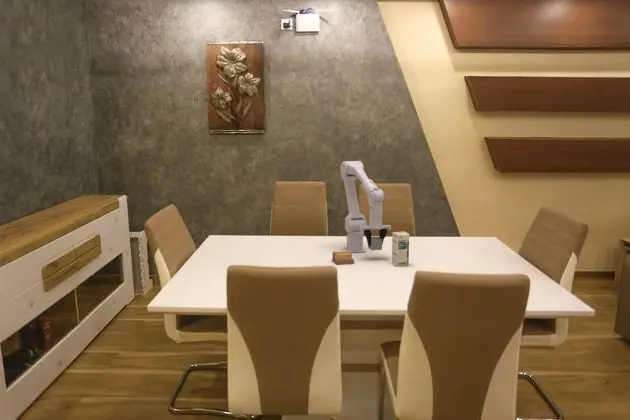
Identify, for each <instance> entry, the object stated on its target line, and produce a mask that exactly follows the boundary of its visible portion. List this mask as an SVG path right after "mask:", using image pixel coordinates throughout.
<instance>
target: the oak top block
mask: <svg viewBox="0 0 630 420" xmlns="http://www.w3.org/2000/svg"><path fill="white" fill-rule="evenodd" d="M332 256H333V257H334V258H335V259H336V260H351V259H352V258H353V254H352V253H350V252H349V251H348V250H346V249H344V250H332Z"/></svg>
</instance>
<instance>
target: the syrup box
mask: <svg viewBox="0 0 630 420" xmlns="http://www.w3.org/2000/svg"><path fill="white" fill-rule="evenodd" d="M391 235H392V241H391V243H392V244H391V264H393V265H394V266H395V267H403V266H404V267H405V266H409V259H410V258H409V257H410V256H409V254H410V233H409V232H406V231H394V232H392V234H391Z"/></svg>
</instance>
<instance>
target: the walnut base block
mask: <svg viewBox="0 0 630 420" xmlns="http://www.w3.org/2000/svg"><path fill="white" fill-rule="evenodd" d="M331 258H332V259H331V260H332V262H333V263H334V264H335V265H337V266H343V265H354V264H355V259H354V258H353V257H352V259H351V260H336V259H335V258H334V257H333V256H332V257H331Z"/></svg>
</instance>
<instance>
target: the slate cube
mask: <svg viewBox="0 0 630 420" xmlns="http://www.w3.org/2000/svg"><path fill="white" fill-rule="evenodd" d="M367 247H368V249H369V250H371V251H382V250H383V244H382V239H381V238H380V237H379V236H371V246H368V245H367Z"/></svg>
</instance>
